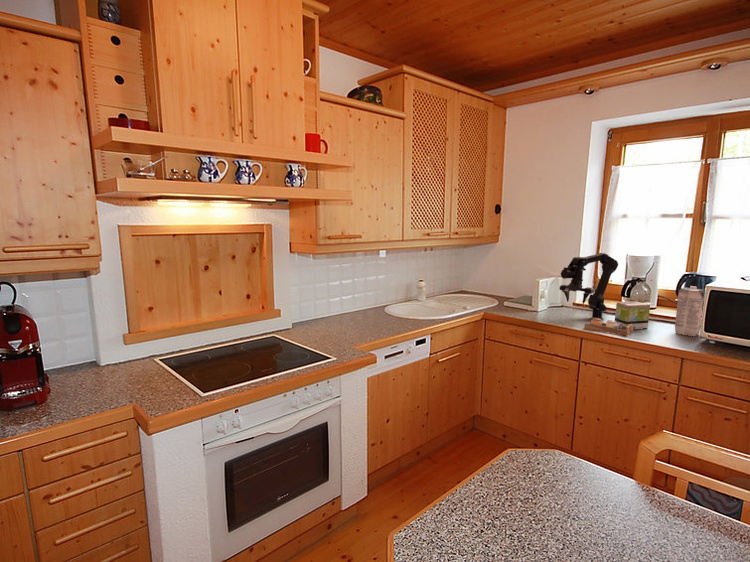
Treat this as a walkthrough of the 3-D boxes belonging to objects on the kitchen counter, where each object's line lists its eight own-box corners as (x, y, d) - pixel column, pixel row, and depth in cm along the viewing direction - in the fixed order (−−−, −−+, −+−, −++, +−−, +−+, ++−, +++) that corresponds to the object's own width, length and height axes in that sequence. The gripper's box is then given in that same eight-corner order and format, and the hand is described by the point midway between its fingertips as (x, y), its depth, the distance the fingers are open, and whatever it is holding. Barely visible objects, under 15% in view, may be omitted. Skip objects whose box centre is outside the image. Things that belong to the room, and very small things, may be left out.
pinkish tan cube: (592, 326, 249) (593, 317, 248) (602, 328, 245) (603, 318, 244) (589, 328, 245) (590, 318, 244) (599, 330, 241) (600, 320, 240)
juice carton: (695, 337, 226) (701, 288, 222) (672, 333, 234) (677, 286, 230) (700, 335, 231) (706, 286, 227) (678, 330, 239) (684, 284, 235)
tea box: (627, 330, 240) (630, 305, 238) (613, 326, 250) (615, 302, 248) (648, 328, 244) (650, 304, 242) (633, 324, 254) (635, 300, 251)
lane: (590, 325, 252) (590, 317, 251) (632, 332, 236) (633, 324, 235) (584, 328, 245) (584, 320, 244) (627, 336, 229) (628, 327, 228)
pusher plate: (618, 330, 239) (619, 323, 239) (623, 331, 238) (624, 324, 237) (615, 333, 235) (615, 325, 234) (620, 334, 233) (620, 326, 232)
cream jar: (607, 329, 243) (608, 319, 242) (617, 331, 239) (618, 321, 238) (604, 331, 239) (604, 321, 238) (614, 333, 235) (615, 322, 234)
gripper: (556, 277, 258) (554, 302, 260) (588, 281, 245) (586, 307, 247) (563, 275, 266) (562, 299, 268) (595, 278, 252) (593, 304, 255)
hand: (575, 302), depth 259 cm, fingers open, 9 cm apart
